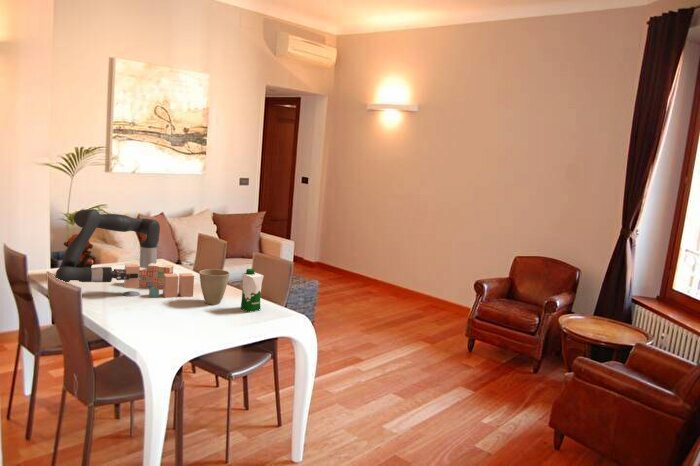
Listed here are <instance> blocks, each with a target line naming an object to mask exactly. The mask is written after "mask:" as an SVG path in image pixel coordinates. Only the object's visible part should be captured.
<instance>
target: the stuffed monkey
mask: <svg viewBox="0 0 700 466" xmlns="http://www.w3.org/2000/svg"><path fill="white" fill-rule="evenodd" d="M78 234H79V233H75V234H72V235H71V236H70V237H69V238H68V239H67V241H64V242H63V245H64V246H65V247H67V248H68V246H69V244H70V243H71V242H72V241H73V240H74V239H75V238H76V236H77V235H78ZM93 245H94V244H92V243H91V241H90V240H89V241H88V242H87V244H86V246H85V248H84V250H83V252H82V254H81V256H80V259H79V261H78V263H77V265H76V267H78V268H93V267H92V266H93V265H94V260H93V259H91V257H89V255H91V254H92V251H90V250H89V249H93V247H94V246H93Z"/></svg>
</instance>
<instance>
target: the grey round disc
mask: <svg viewBox="0 0 700 466" xmlns="http://www.w3.org/2000/svg"><path fill="white" fill-rule="evenodd" d="M140 294H141V293H140V292H139V291H135V290H134V291H132V290H130V291H129V290H128V291H124V292H122V295H123V296H125V297H136V296H139V295H140Z"/></svg>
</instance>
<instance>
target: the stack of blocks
mask: <svg viewBox="0 0 700 466" xmlns="http://www.w3.org/2000/svg"><path fill="white" fill-rule="evenodd" d="M164 274H174V265H171V264H164V263H156V264H155V263H151V264H149V265H147V268H141V267H140V271H139V288H140V287H141V288H158V289H160V290H163V276H164Z"/></svg>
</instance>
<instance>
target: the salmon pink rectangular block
mask: <svg viewBox="0 0 700 466" xmlns="http://www.w3.org/2000/svg"><path fill="white" fill-rule="evenodd" d="M139 266H140V264H138V263H135V264H133V263H131V264H130V263H129V264H128V263H125V264H124V269H125V272H126V273H129V274H138V278H130V279H129V280H123V286H124V288H125V289H139V288H140V286H139V271H140V267H139ZM126 277H127V276H126Z"/></svg>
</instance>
